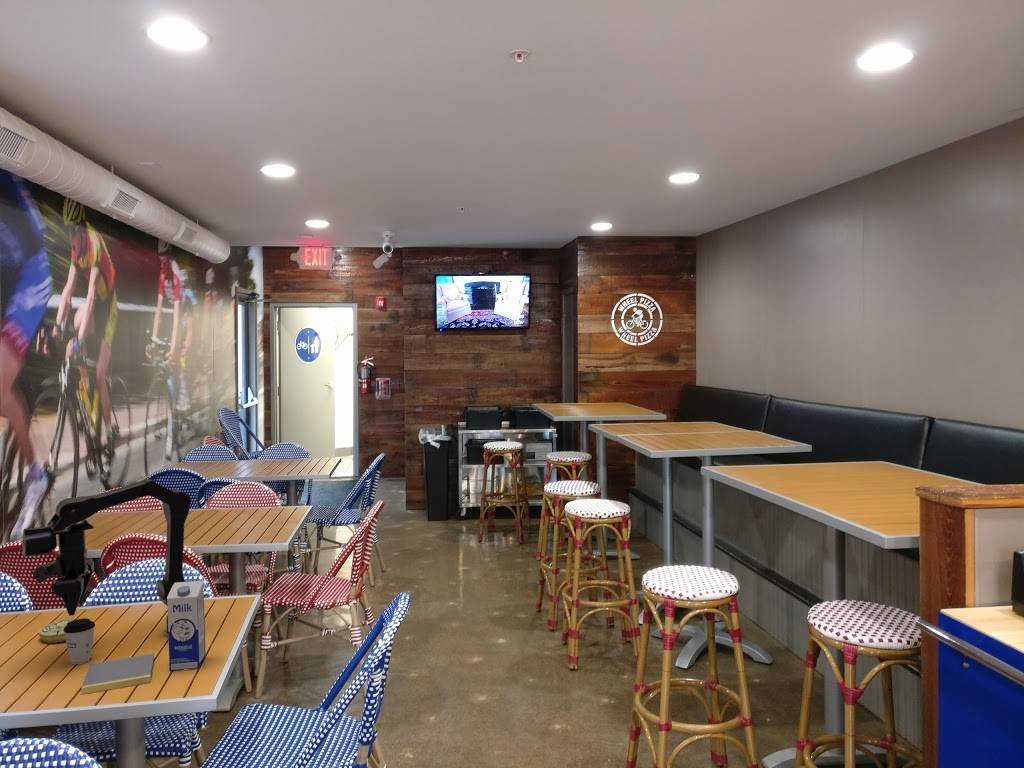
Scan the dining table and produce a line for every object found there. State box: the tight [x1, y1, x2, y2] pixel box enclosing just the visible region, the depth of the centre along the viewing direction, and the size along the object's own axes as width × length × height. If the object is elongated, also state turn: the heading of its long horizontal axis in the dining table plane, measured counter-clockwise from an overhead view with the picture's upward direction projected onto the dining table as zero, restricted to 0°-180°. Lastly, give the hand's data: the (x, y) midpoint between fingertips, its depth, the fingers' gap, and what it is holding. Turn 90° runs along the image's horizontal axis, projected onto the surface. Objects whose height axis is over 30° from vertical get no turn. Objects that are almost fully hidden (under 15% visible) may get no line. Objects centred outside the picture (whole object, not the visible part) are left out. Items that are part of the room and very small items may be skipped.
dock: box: [81, 653, 155, 695], centre depth 171 cm, size 14×14×2 cm
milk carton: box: [166, 580, 206, 672], centre depth 176 cm, size 7×7×20 cm
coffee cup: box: [63, 617, 96, 665], centre depth 179 cm, size 7×7×10 cm
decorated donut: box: [38, 619, 74, 644], centre depth 195 cm, size 10×11×4 cm
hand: (75, 609), depth 181 cm, fingers open, 9 cm apart
